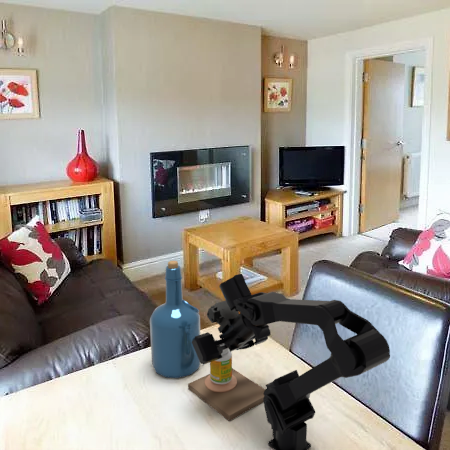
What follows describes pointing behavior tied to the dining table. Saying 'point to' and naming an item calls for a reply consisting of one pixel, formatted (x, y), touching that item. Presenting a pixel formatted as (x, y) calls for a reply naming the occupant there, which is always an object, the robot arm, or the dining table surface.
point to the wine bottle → (174, 330)
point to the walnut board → (230, 396)
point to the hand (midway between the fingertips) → (217, 351)
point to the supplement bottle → (222, 368)
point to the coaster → (220, 385)
